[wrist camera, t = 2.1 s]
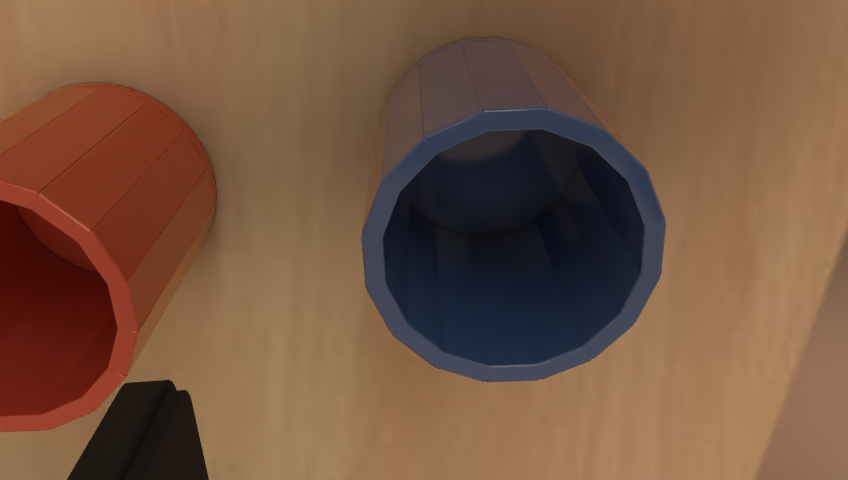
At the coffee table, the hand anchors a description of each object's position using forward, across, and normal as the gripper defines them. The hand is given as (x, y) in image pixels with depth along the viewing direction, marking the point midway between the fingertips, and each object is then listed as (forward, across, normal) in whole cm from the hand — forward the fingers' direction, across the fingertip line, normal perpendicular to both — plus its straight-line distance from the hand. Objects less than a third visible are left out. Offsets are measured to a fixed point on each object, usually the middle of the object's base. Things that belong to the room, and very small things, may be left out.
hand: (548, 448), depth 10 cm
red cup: (+12, +10, 0) cm, 15 cm away
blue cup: (+12, 0, -1) cm, 12 cm away
